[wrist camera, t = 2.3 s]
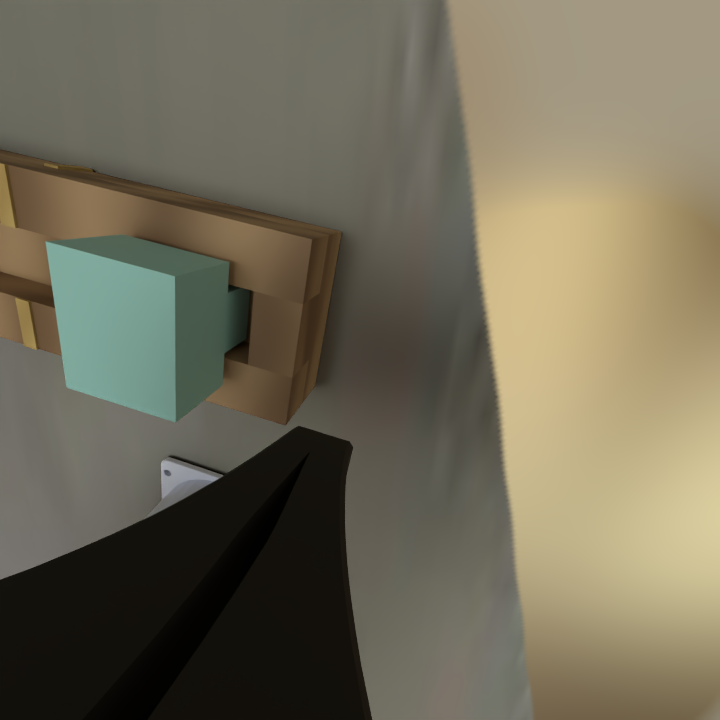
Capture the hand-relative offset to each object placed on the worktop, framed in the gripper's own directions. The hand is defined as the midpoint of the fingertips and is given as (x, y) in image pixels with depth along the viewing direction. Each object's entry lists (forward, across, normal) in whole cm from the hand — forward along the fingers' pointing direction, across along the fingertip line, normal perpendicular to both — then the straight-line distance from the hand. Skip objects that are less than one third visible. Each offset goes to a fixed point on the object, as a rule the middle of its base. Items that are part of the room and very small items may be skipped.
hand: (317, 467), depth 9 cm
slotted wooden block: (+10, +15, 0) cm, 18 cm away
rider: (+8, +8, 0) cm, 11 cm away
